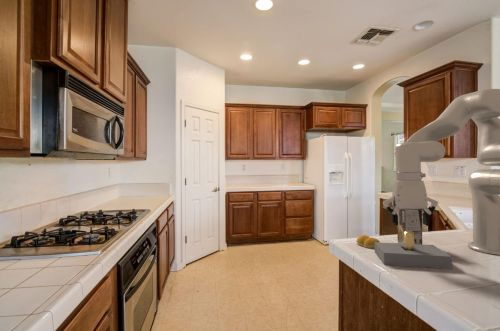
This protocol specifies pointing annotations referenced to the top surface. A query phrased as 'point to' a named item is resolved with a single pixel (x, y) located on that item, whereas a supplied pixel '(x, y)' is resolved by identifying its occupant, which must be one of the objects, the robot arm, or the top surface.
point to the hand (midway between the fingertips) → (410, 224)
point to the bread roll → (366, 241)
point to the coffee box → (410, 224)
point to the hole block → (413, 255)
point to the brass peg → (408, 241)
